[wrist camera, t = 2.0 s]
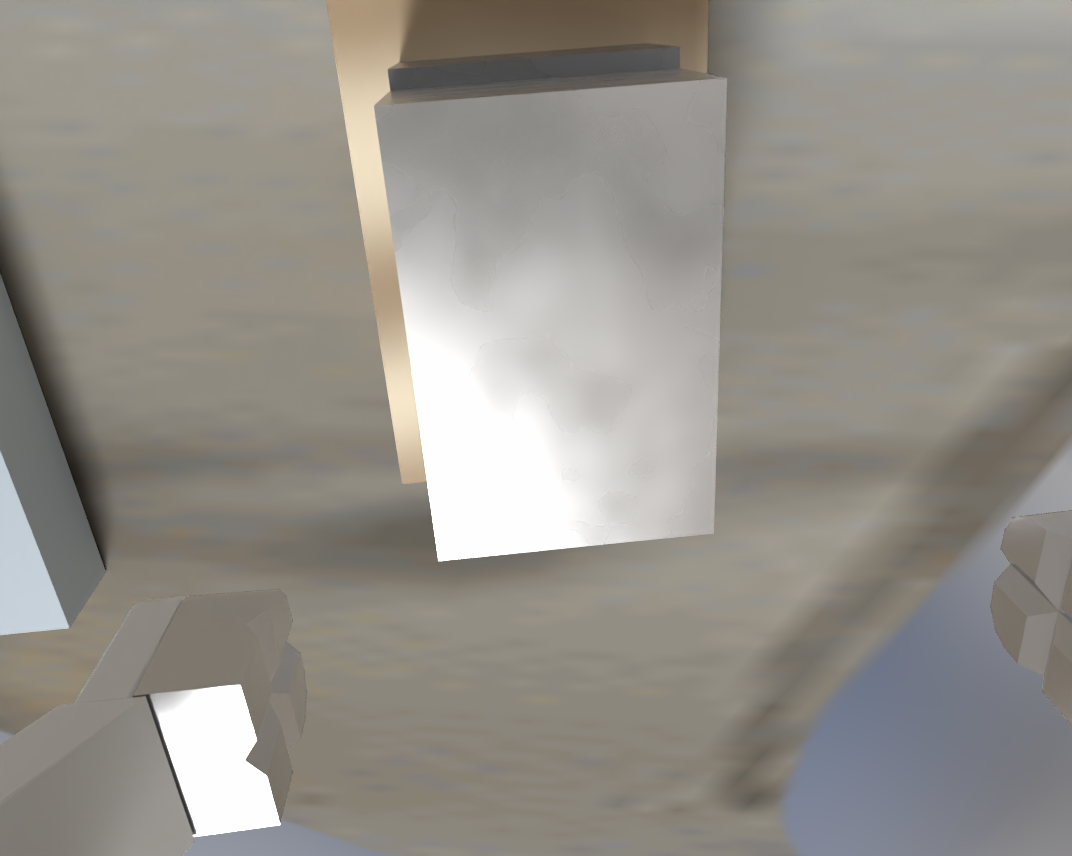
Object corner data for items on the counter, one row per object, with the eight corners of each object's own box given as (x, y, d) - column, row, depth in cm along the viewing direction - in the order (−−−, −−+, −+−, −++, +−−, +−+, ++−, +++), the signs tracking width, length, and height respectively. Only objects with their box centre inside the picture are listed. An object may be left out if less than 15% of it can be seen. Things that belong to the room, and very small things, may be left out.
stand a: (342, -1, 22) (325, -4, 19) (679, -26, 23) (709, -32, 20) (408, 439, 28) (402, 483, 25) (677, 413, 28) (699, 455, 26)
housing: (399, 61, 20) (370, 79, 14) (646, 43, 20) (727, 52, 14) (446, 434, 25) (440, 576, 18) (650, 415, 25) (713, 548, 19)
